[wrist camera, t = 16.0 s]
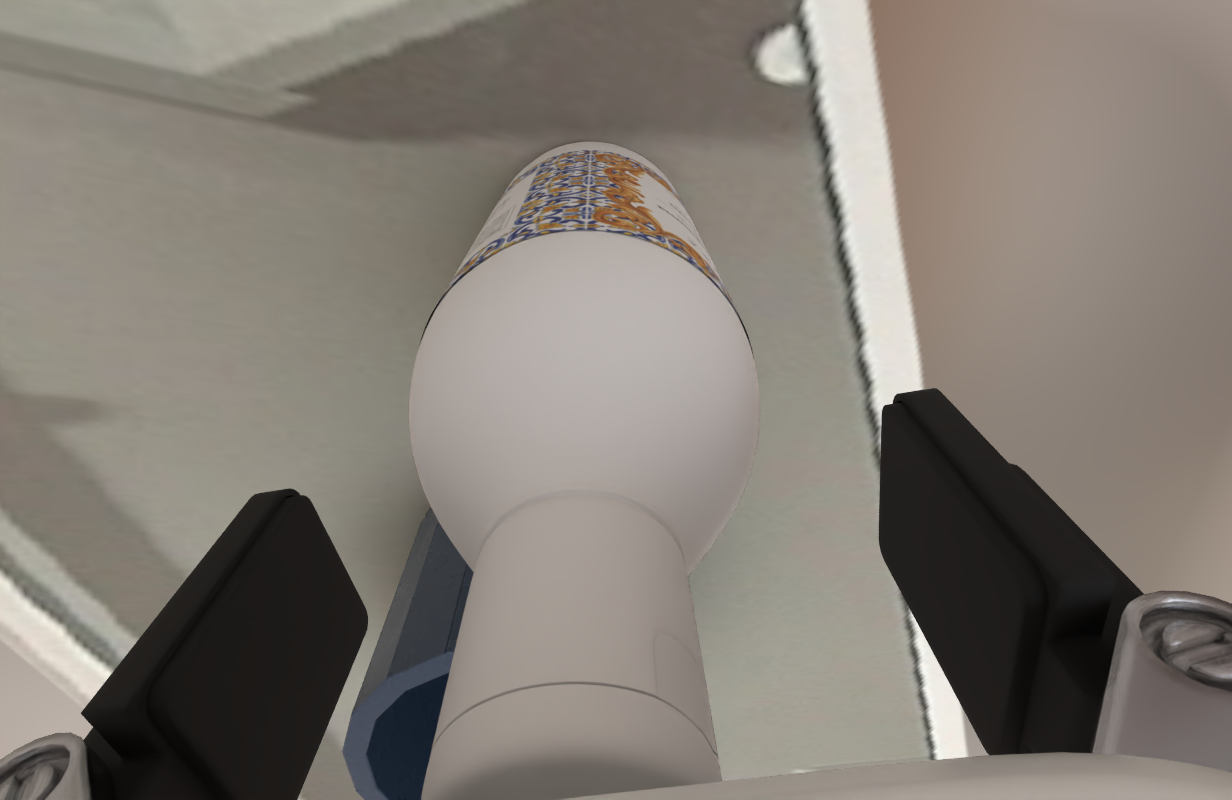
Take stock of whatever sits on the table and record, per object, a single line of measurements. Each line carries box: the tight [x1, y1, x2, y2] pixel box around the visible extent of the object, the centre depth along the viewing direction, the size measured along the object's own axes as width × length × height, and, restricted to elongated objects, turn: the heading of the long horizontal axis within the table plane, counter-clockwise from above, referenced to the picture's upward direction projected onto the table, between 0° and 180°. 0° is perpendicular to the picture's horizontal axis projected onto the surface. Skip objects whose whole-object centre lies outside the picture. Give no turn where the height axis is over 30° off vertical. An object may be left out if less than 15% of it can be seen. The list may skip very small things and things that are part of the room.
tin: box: [342, 508, 474, 800], centre depth 27 cm, size 13×13×10 cm
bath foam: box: [409, 142, 760, 800], centre depth 15 cm, size 7×7×20 cm
